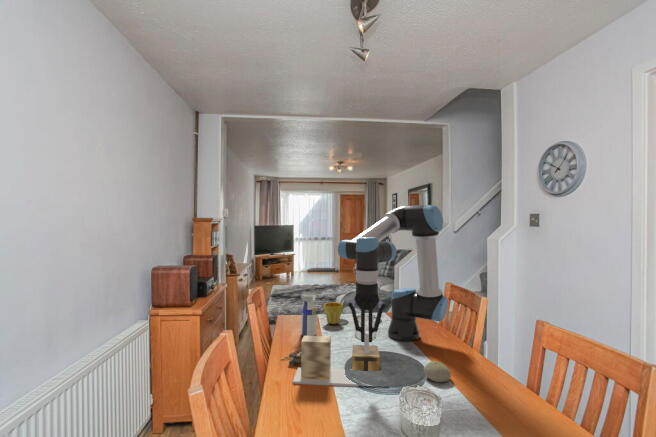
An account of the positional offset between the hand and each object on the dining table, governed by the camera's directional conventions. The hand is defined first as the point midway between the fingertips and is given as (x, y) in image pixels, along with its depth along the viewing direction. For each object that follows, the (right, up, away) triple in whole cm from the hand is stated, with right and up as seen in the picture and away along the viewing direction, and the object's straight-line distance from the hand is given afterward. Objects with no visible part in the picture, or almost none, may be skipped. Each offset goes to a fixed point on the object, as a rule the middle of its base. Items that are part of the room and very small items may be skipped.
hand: (366, 351), depth 113 cm
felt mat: (-8, -12, +6) cm, 16 cm away
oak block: (-17, -11, +7) cm, 22 cm away
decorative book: (-23, -13, +20) cm, 33 cm away
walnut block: (+1, -8, +8) cm, 12 cm away
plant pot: (-10, -13, +72) cm, 74 cm away
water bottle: (-23, -12, +53) cm, 59 cm away
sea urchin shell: (+27, -12, +9) cm, 31 cm away
